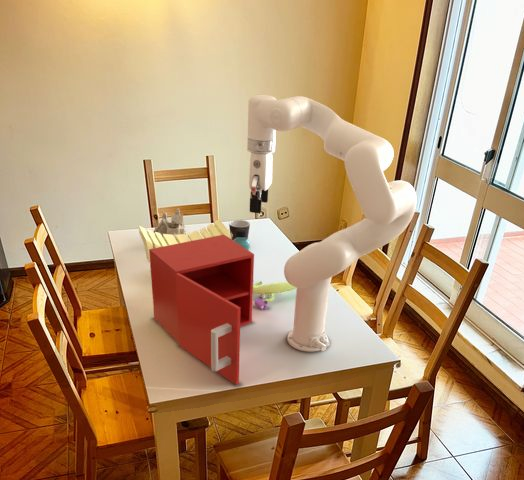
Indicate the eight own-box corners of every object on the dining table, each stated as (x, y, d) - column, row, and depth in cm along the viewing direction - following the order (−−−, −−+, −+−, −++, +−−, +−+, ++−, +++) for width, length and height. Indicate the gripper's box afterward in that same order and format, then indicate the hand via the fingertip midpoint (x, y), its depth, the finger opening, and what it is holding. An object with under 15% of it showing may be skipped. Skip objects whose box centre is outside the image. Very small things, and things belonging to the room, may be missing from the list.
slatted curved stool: (150, 289, 196) (147, 242, 186) (142, 271, 208) (138, 225, 199) (231, 279, 206) (231, 233, 196) (218, 262, 218) (218, 218, 208)
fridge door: (219, 393, 147) (219, 316, 134) (162, 352, 162) (157, 279, 149) (238, 383, 151) (240, 307, 138) (181, 344, 166) (178, 272, 153)
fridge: (251, 323, 179) (254, 254, 166) (179, 344, 167) (175, 271, 154) (223, 300, 192) (223, 234, 178) (154, 318, 179) (149, 249, 166)
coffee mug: (248, 250, 229) (249, 227, 224) (228, 249, 229) (228, 226, 224) (249, 240, 239) (250, 217, 234) (229, 239, 239) (230, 217, 233)
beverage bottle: (247, 286, 201) (248, 234, 191) (229, 283, 202) (229, 231, 192) (251, 278, 207) (252, 227, 196) (233, 276, 208) (234, 225, 197)
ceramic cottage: (157, 236, 238) (156, 202, 229) (194, 241, 236) (194, 208, 227) (144, 251, 225) (141, 217, 216) (182, 258, 223) (182, 223, 214)
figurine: (321, 315, 185) (323, 300, 182) (242, 309, 186) (242, 294, 183) (321, 291, 201) (322, 277, 198) (248, 285, 202) (248, 271, 199)
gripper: (268, 153, 142) (265, 218, 151) (280, 139, 156) (276, 199, 166) (240, 151, 143) (239, 215, 152) (254, 137, 157) (252, 196, 167)
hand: (258, 207), depth 159 cm, fingers open, 9 cm apart
